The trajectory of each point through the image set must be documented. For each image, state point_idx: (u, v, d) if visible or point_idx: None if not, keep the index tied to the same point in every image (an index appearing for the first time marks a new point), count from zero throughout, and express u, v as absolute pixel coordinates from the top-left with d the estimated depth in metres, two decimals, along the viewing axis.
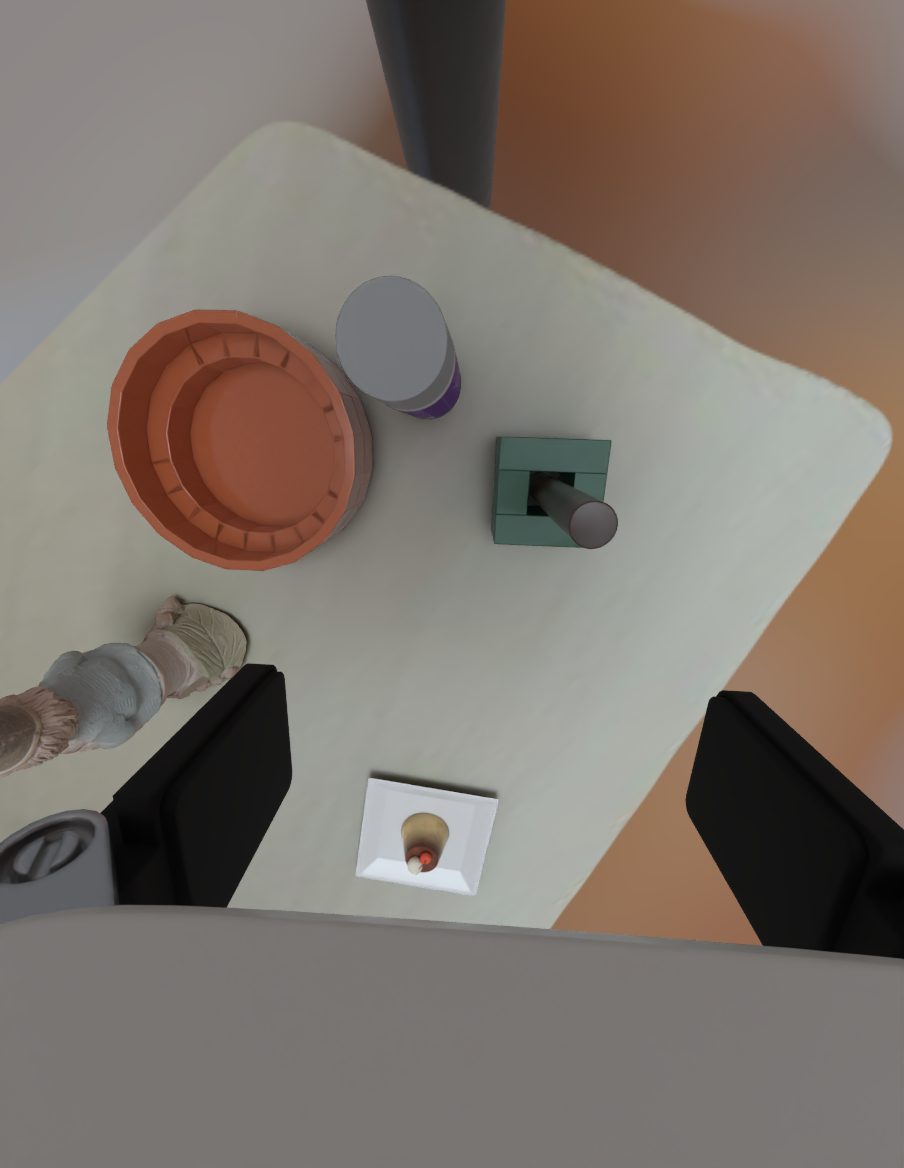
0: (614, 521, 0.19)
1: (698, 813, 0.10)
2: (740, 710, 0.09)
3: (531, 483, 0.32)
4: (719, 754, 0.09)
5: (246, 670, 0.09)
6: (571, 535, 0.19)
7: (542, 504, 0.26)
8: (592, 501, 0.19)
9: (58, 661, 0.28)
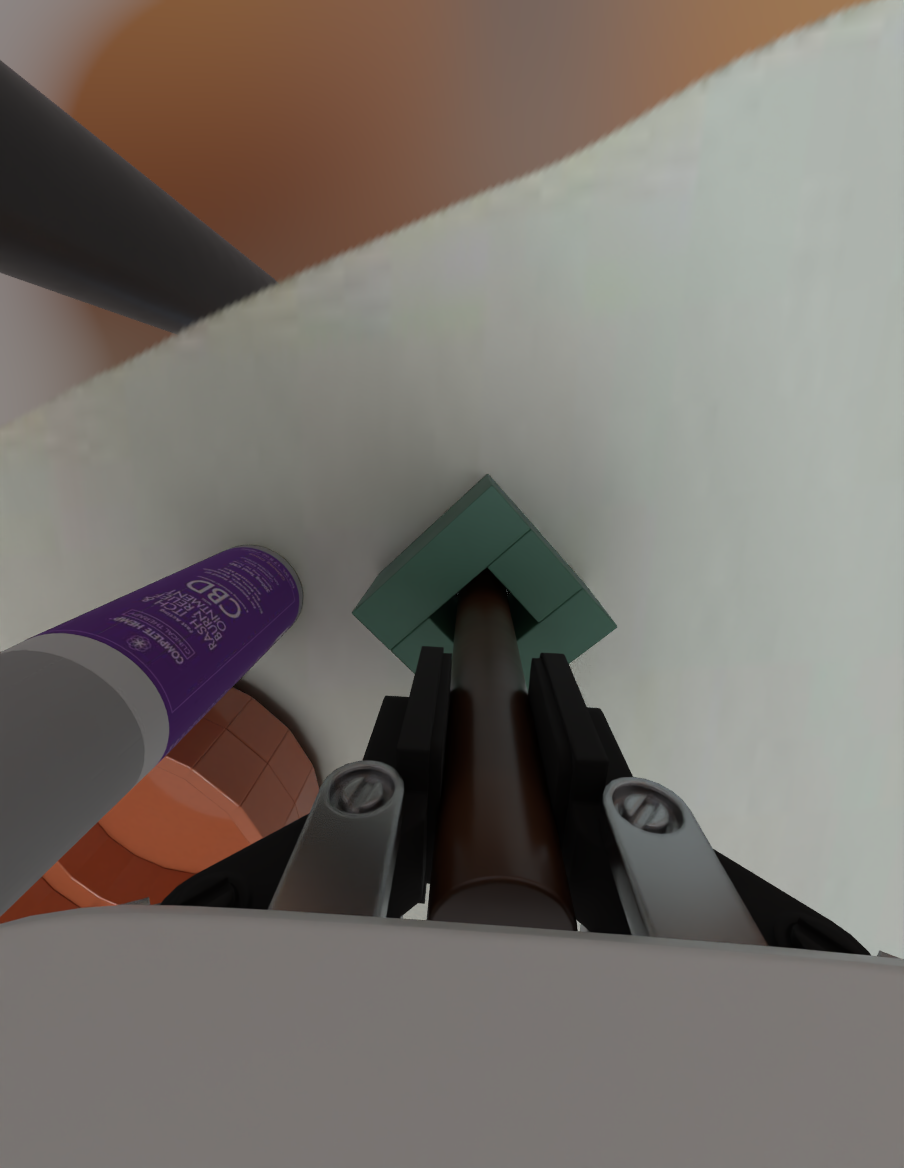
0: (541, 898, 0.06)
1: None
2: (544, 667, 0.10)
3: None
4: (532, 707, 0.10)
5: (426, 651, 0.10)
6: None
7: None
8: (443, 896, 0.06)
9: None
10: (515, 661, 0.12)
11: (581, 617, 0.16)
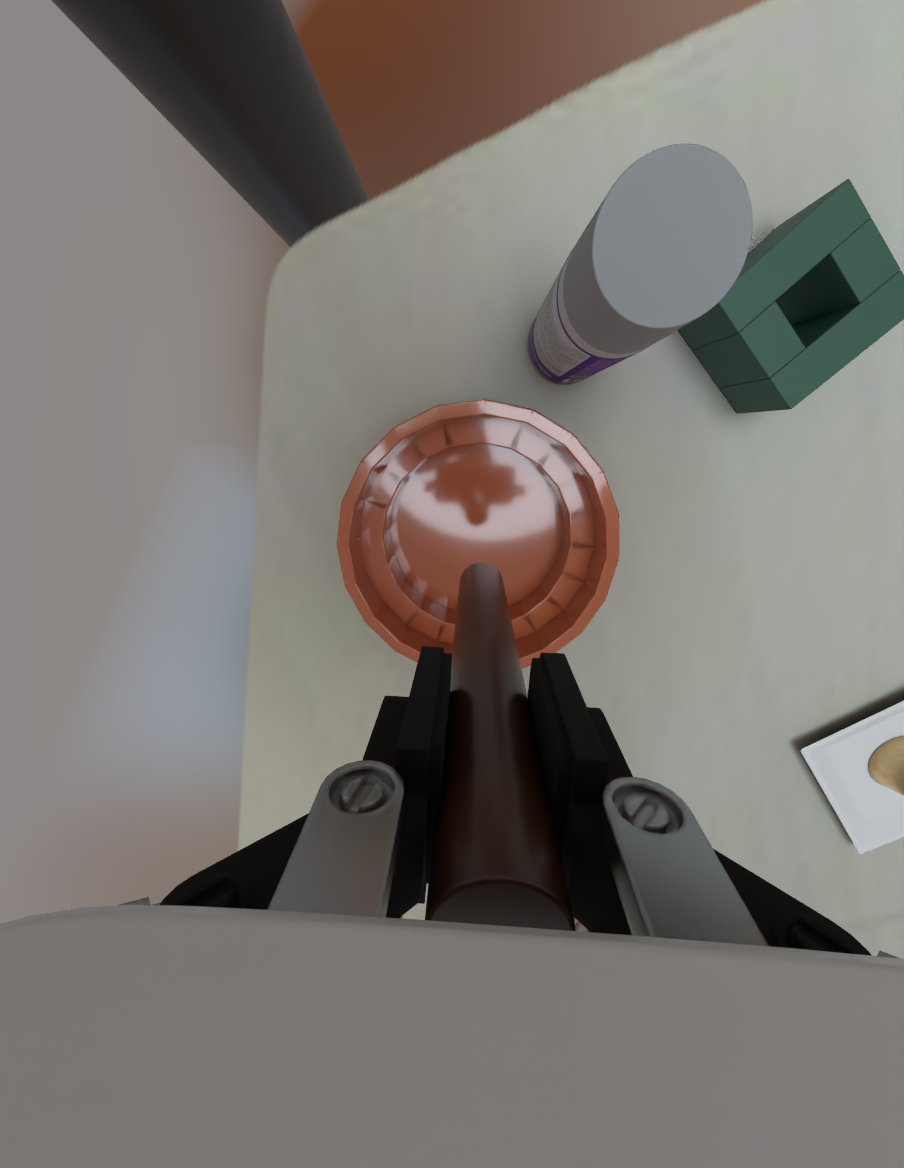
0: (538, 898, 0.06)
1: None
2: (544, 667, 0.10)
3: None
4: (532, 707, 0.10)
5: (426, 651, 0.10)
6: None
7: None
8: (440, 897, 0.06)
9: None
10: (514, 663, 0.12)
11: (895, 296, 0.22)
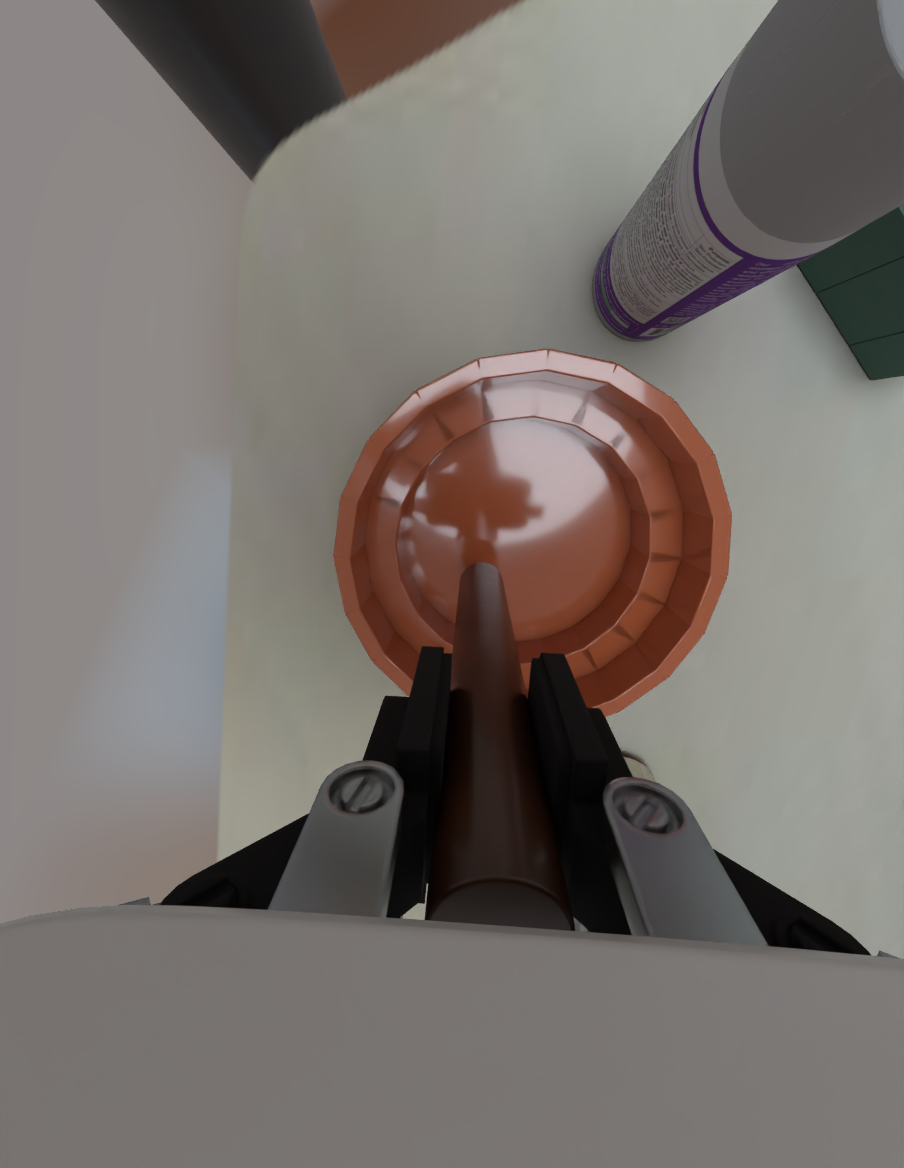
0: (538, 897, 0.06)
1: None
2: (544, 667, 0.10)
3: None
4: (532, 707, 0.10)
5: (426, 651, 0.10)
6: None
7: None
8: (440, 896, 0.06)
9: None
10: (514, 663, 0.12)
11: None
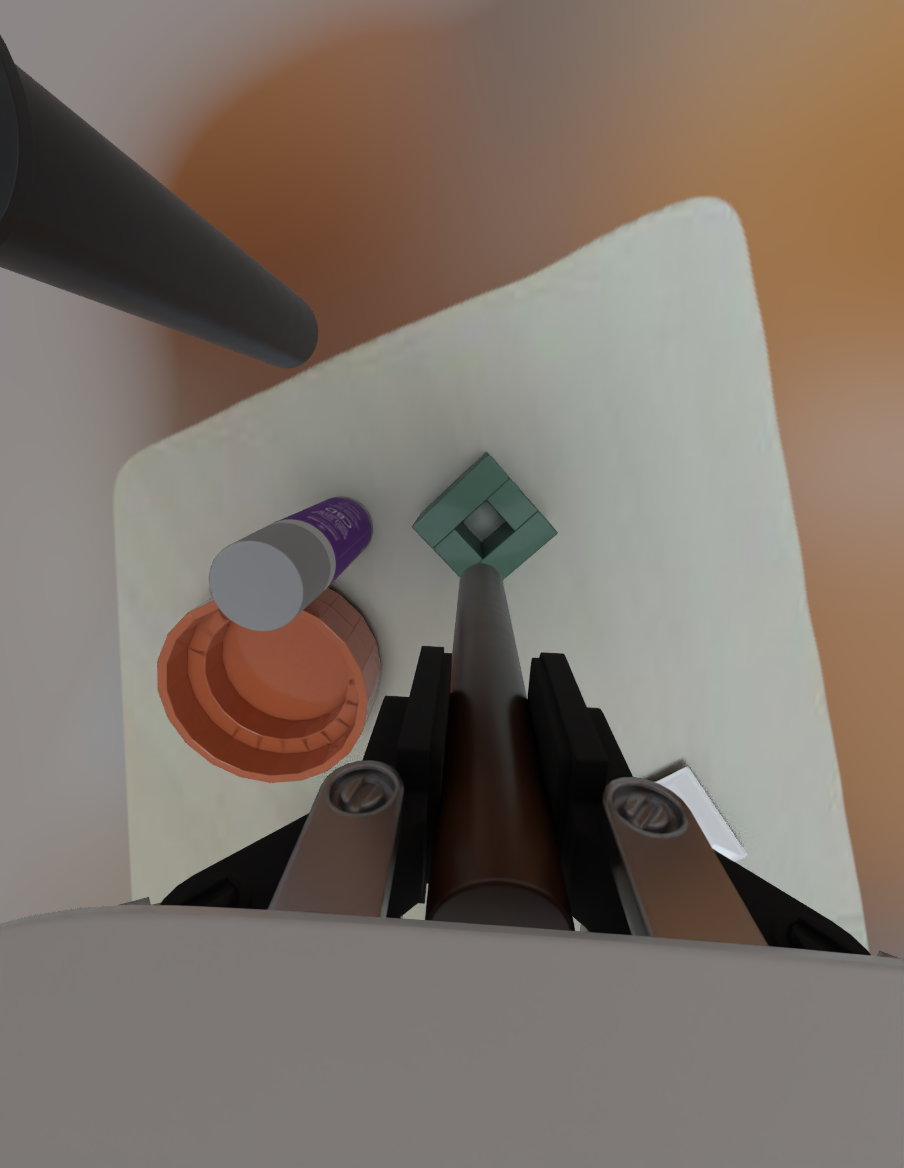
0: (537, 901, 0.06)
1: None
2: (544, 667, 0.10)
3: None
4: (532, 706, 0.10)
5: (426, 651, 0.10)
6: None
7: None
8: (440, 900, 0.06)
9: None
10: (514, 664, 0.12)
11: (538, 527, 0.30)
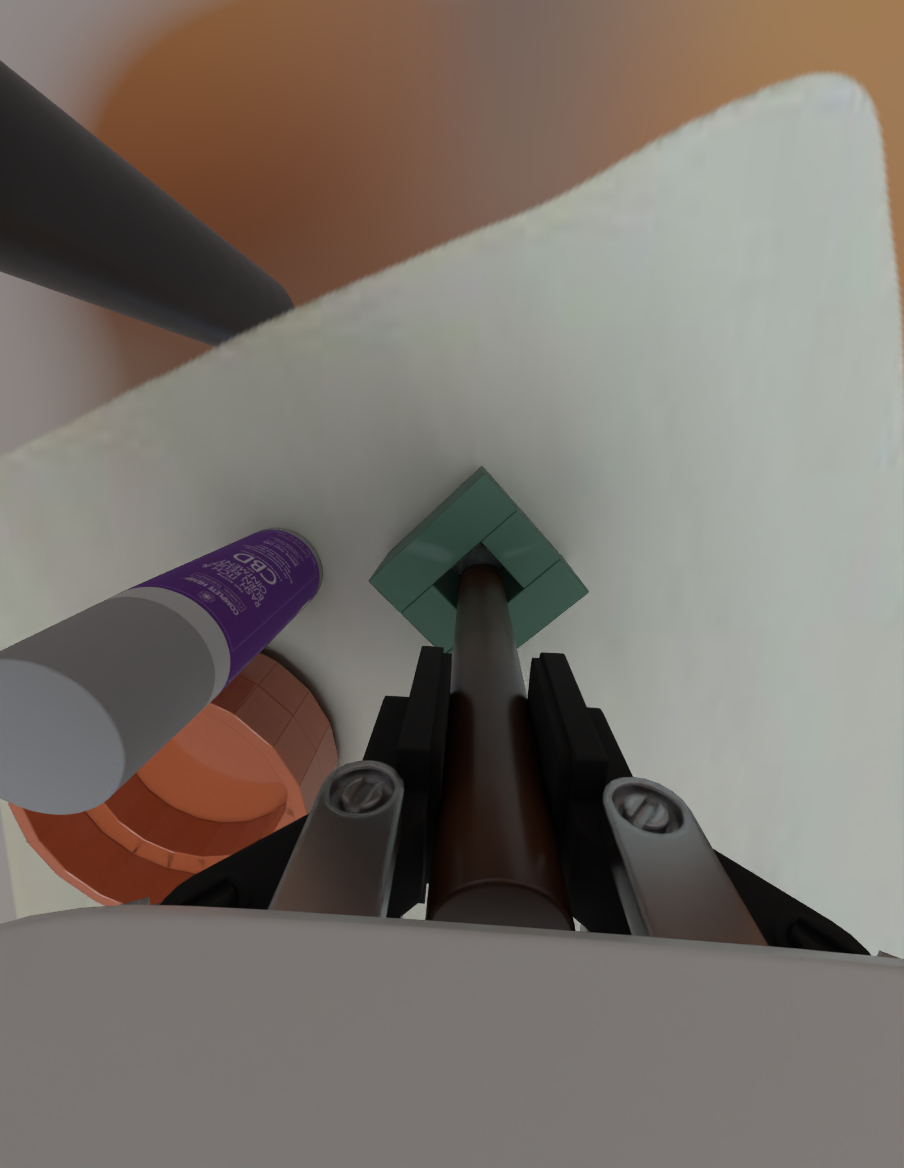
0: (538, 901, 0.06)
1: None
2: (544, 667, 0.10)
3: None
4: (532, 707, 0.10)
5: (426, 651, 0.10)
6: None
7: None
8: (441, 900, 0.06)
9: None
10: (514, 664, 0.12)
11: (559, 584, 0.20)
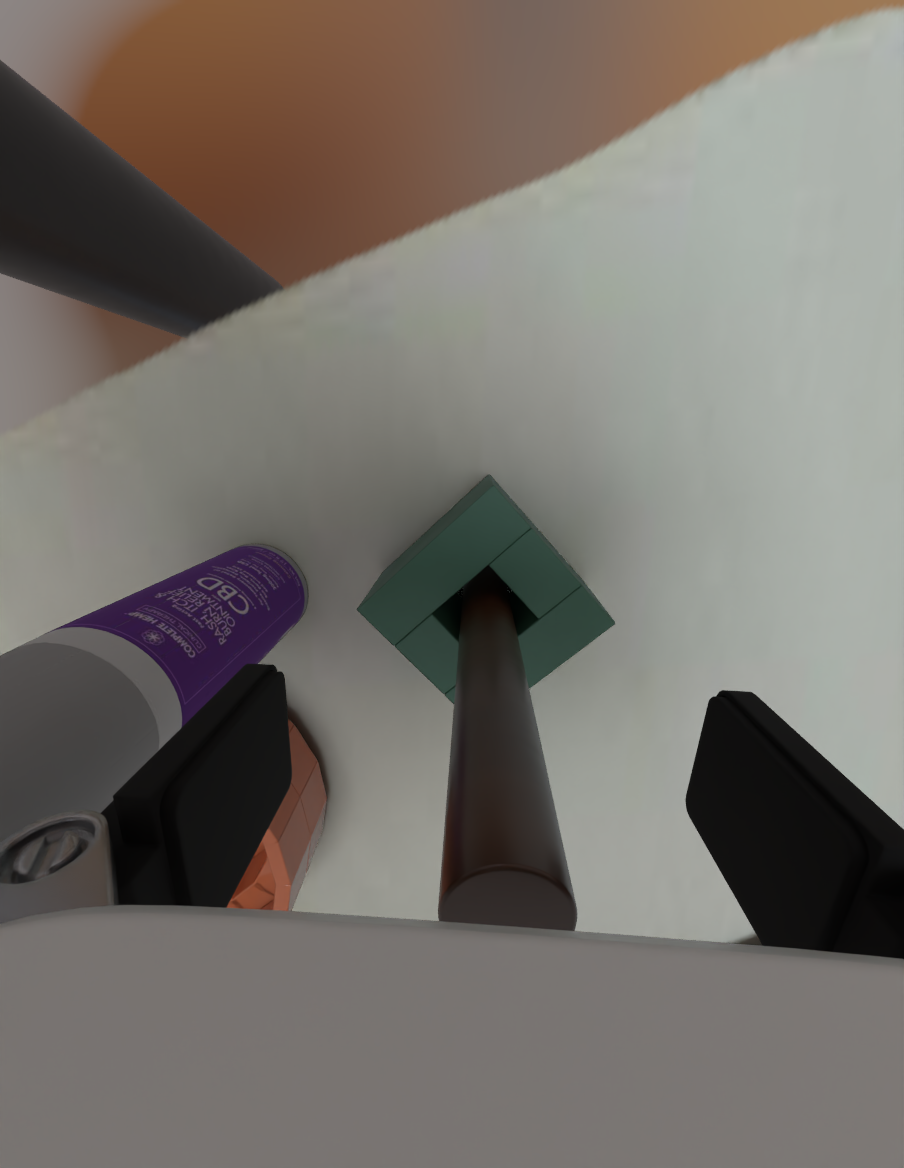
0: (543, 884, 0.06)
1: (698, 814, 0.10)
2: (740, 710, 0.09)
3: None
4: (719, 754, 0.09)
5: (246, 670, 0.09)
6: None
7: None
8: (453, 883, 0.06)
9: None
10: (518, 664, 0.12)
11: (580, 614, 0.17)
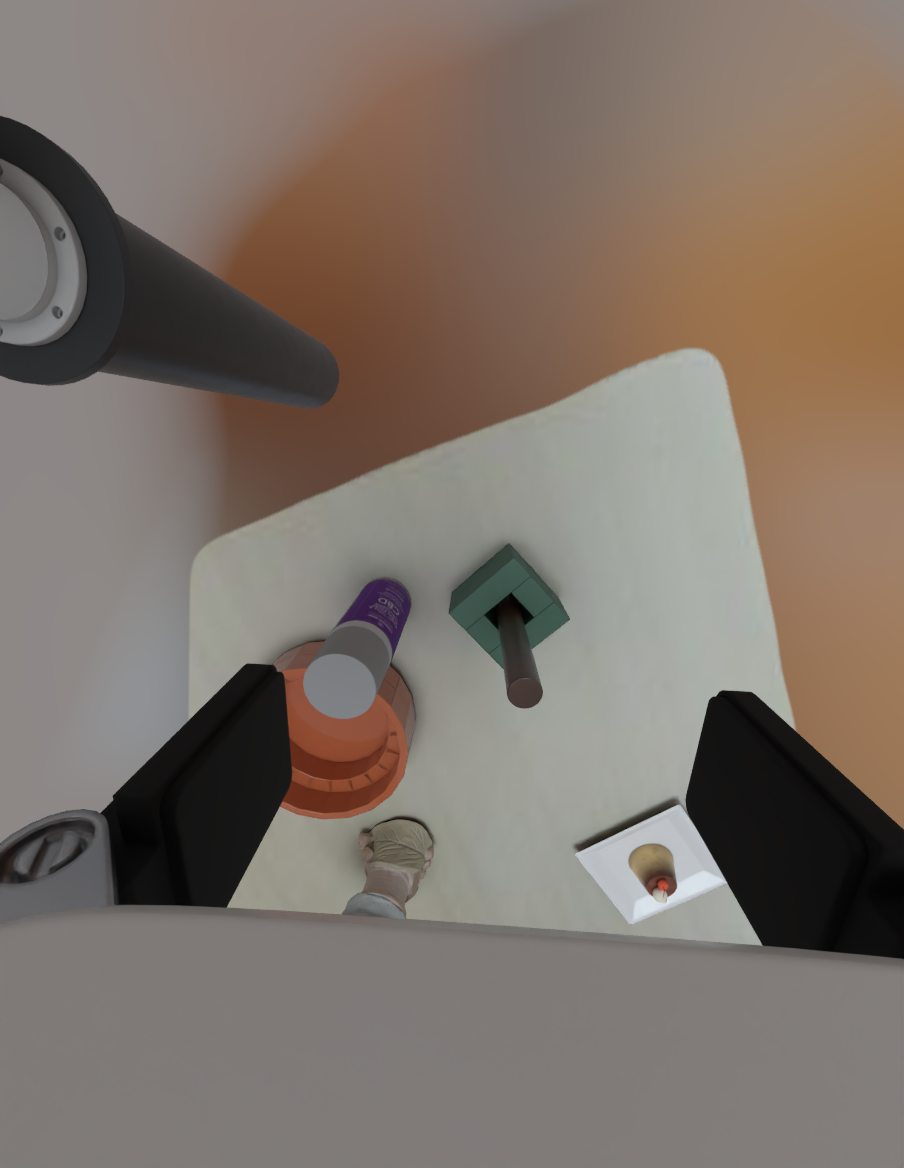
0: (534, 682, 0.26)
1: (698, 813, 0.10)
2: (740, 710, 0.09)
3: None
4: (719, 754, 0.09)
5: (246, 670, 0.09)
6: (519, 706, 0.26)
7: None
8: (511, 683, 0.26)
9: None
10: (525, 635, 0.32)
11: (553, 615, 0.36)
